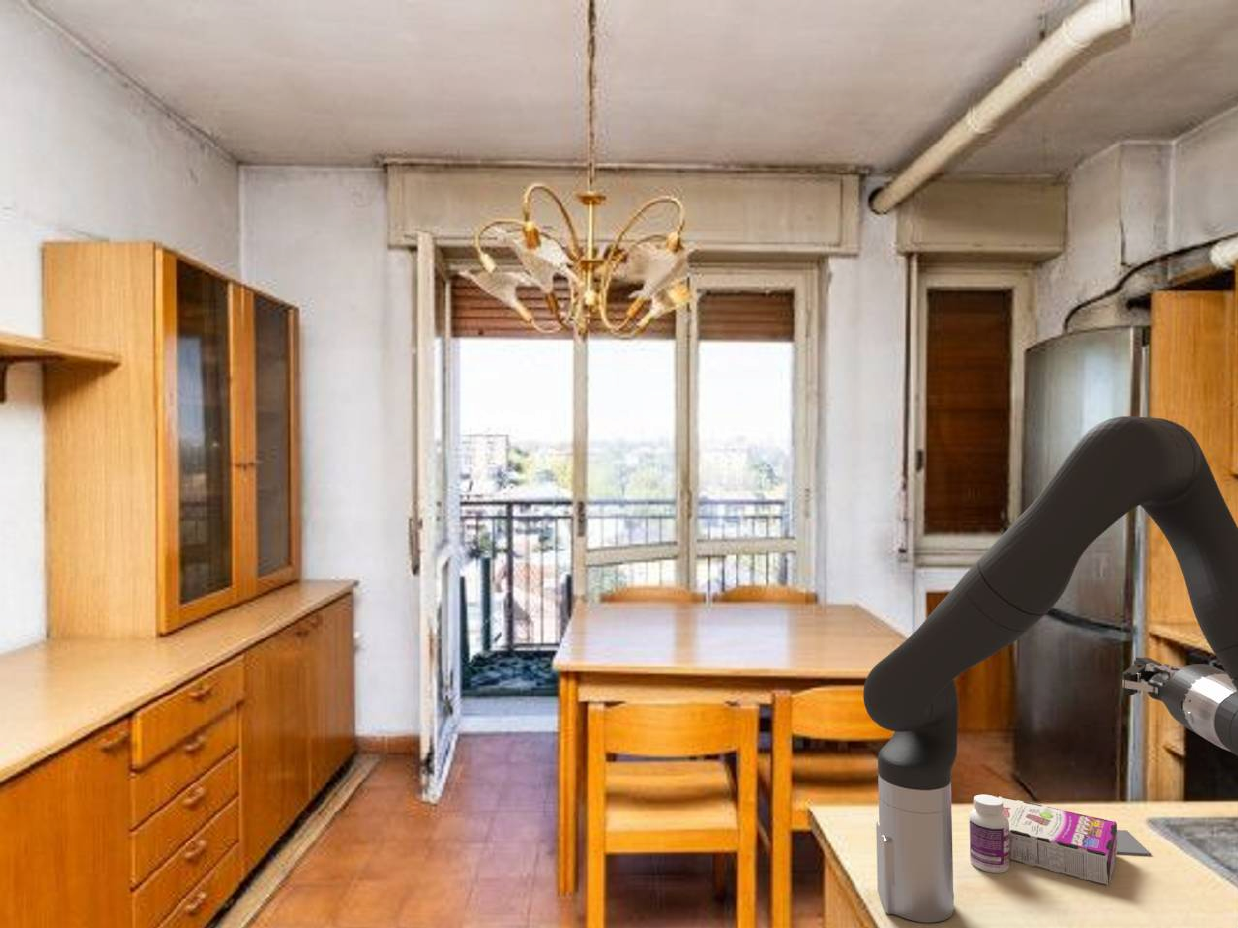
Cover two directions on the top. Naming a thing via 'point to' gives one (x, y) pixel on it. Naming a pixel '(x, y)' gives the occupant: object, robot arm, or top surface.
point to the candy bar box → (1061, 840)
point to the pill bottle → (989, 834)
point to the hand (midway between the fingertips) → (1141, 665)
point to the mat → (1129, 844)
